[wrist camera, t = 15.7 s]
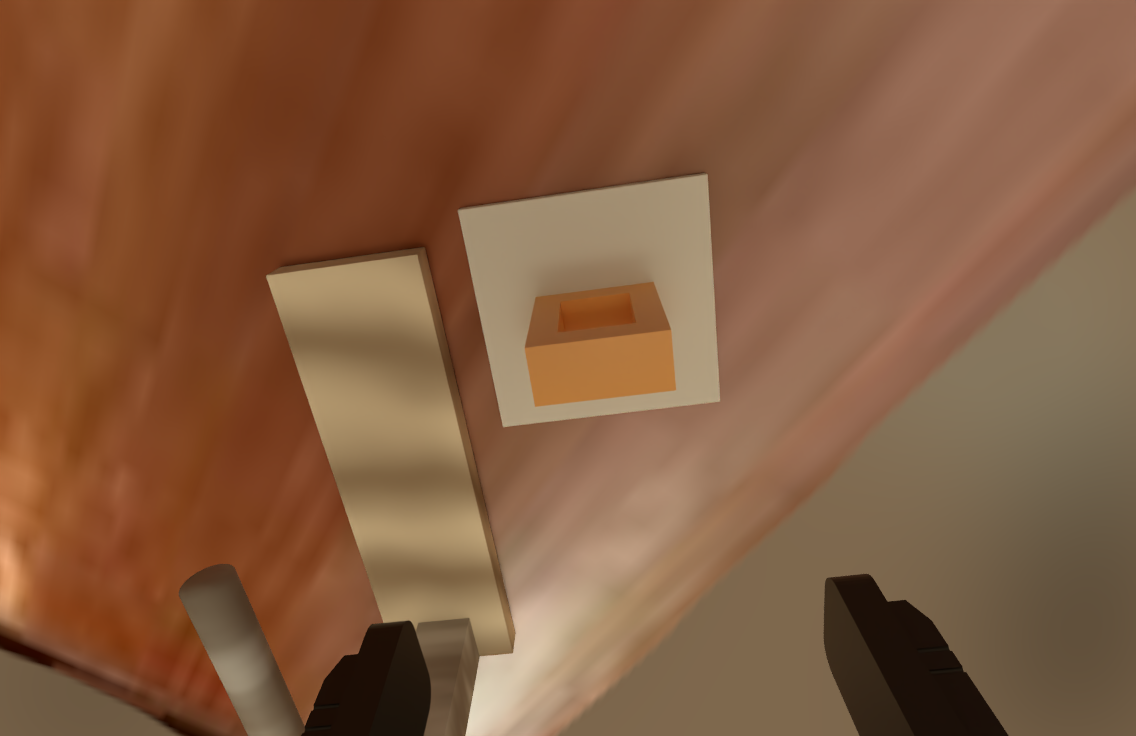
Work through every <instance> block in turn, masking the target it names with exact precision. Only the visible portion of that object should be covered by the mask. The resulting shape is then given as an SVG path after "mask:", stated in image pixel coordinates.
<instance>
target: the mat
mask: <svg viewBox="0 0 1136 736" xmlns="http://www.w3.org/2000/svg"><path fill="white" fill-rule="evenodd" d="M458 214H459V218H460V223H461V228H462V233H463V238H464V242H465V247H466V252H467V257H468V261H469V266H470V271H471V276H472V281H473V285H474V290H475V295H476V300H477V305H478V309H479V314H480V319H481V324H482V329H483V333H484V338H485V343H486V348H487V352H488V357H489V362H490V367H491V372H492V376H493V381H494V386H495V391H496V396H497V400H498V405H499V410H500V415H501V419H502V424H503V427H508V426H516V425H525V424H533V423H542V422H550V421H559V420H567V419H576V418H584V417H592V416H601V415H609V414H618V413H626V412H635V411H643V410H652V409H660V408H669V407H677V406H686V405H694V404H703V403H711V402H720V389H719V371H718V353H717V335H716V317H715V299H714V281H713V263H712V245H711V227H710V209H709V191H708V174H706V173H700V174H693V175H686V176H679V177H672V178H665V179H658V180H651V181H644V182H638V183H631V184H624V185H617V186H610V187H603V188H596V189H589V190H582V191H575V192H568V193H562V194H555V195H548V196H541V197H534V198H527V199H520V200H513V201H506V202H499V203H492V204H486V205H479V206H472V207H465V208H460V209H459V210H458ZM648 282H654V284H655V287H656V290H657V293H658V295H659V298H660V301H661V303H662V306H663V309H664V311H665V314H666V317H667V320H668V322H669V325H670V328H671V333H672V345H673V357H674V370H675V382H676V390H675V391H667V392H658V393H650V394H641V395H632V396H624V397H615V398H607V399H598V400H589V401H581V402H572V403H564V404H555V405H547V406H538V407H535V404H534V398H533V393H532V387H531V382H530V376H529V370H528V365H527V359H526V354H525V343H526V339H527V334H528V330H529V325H530V321H531V316H532V312H533V307H534V303H535V298H536V297H540V296H548V295H555V294H563V293H571V292H579V291H586V290H594V289H602V288H610V287H617V286H625V285H633V284H640V283H648Z"/></svg>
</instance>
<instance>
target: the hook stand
mask: <svg viewBox="0 0 1136 736" xmlns="http://www.w3.org/2000/svg"><path fill="white" fill-rule="evenodd" d="M266 277H267V280H268V283H269V286H270V289H271V292H272V295H273V298H274V301H275V304H276V307H277V310H278V313H279V316H280V319H281V322H282V325H283V328H284V330H285V333H286V336H287V339H288V342H289V345H290V348H291V351H292V354H293V357H294V360H295V363H296V366H297V369H298V372H299V375H300V378H301V381H302V383H303V386H304V389H305V392H306V395H307V398H308V401H309V404H310V407H311V410H312V413H313V416H314V419H315V422H316V425H317V428H318V431H319V434H320V437H321V439H322V442H323V445H324V448H325V451H326V454H327V457H328V460H329V463H330V466H331V469H332V472H333V475H334V478H335V481H336V484H337V487H338V490H339V492H340V495H341V498H342V501H343V504H344V507H345V510H346V513H347V516H348V519H349V522H350V525H351V528H352V531H353V534H354V537H355V540H356V543H357V546H358V548H359V551H360V554H361V557H362V560H363V563H364V566H365V569H366V572H367V575H368V578H369V581H370V584H371V587H372V590H373V593H374V596H375V599H376V601H377V604H378V607H379V610H380V613H381V616H382V619H383V622H384V623H388V622H398V621H407V620H409V621H411V622H412V624H413V626H414V628H415V631H416V634H417V638H418V641H419V644H420V647H421V650H422V653H423V656H424V660H425V663H426V666H427V669H428V672H429V676H430V682H431V704H430V710H429V715H428V719H427V723H426V728H425V732H424V736H465V734H466V729H467V723H468V718H469V712H470V707H471V701H472V696H473V690H474V685H475V679H476V673H477V668H478V662H479V657H480V656H487V655H498V654H509V653H513V648H514V640H515V630H514V626H513V621H512V617H511V613H510V609H509V604H508V600H507V596H506V591H505V587H504V583H503V579H502V574H501V570H500V566H499V562H498V557H497V553H496V549H495V545H494V540H493V536H492V532H491V527H490V523H489V519H488V515H487V510H486V506H485V502H484V498H483V493H482V489H481V485H480V481H479V476H478V472H477V468H476V463H475V459H474V455H473V451H472V446H471V442H470V438H469V434H468V429H467V425H466V421H465V416H464V412H463V408H462V404H461V399H460V395H459V391H458V387H457V382H456V378H455V374H454V370H453V365H452V361H451V357H450V352H449V348H448V344H447V340H446V335H445V331H444V327H443V323H442V318H441V314H440V310H439V305H438V301H437V297H436V293H435V288H434V284H433V280H432V276H431V271H430V267H429V263H428V259H427V254H426V250H425V247H420V248H413V249H406V250H399V251H392V252H385V253H378V254H370V255H363V256H356V257H349V258H342V259H335V260H328V261H321V262H314V263H306V264H299V265H292V266H285V267H280V268H278V269H276V270H275V271H273V272H271V273H270V274H268V275H266ZM179 596H180V599H181V601H182V603H183V605H184V607H185V609H186V611H187V613H188V615H189V617H190V619H191V621H192V623H193V625H194V627H195V629H196V631H197V633H198V635H199V637H200V639H201V641H202V643H203V645H204V647H205V649H206V651H207V653H208V655H209V657H210V659H211V661H212V663H213V665H214V667H215V669H216V671H217V673H218V675H219V677H220V679H221V681H222V683H223V685H224V687H225V689H226V691H227V693H228V696H229V698H230V700H231V702H232V704H233V706H234V708H235V710H236V712H237V714H238V716H239V718H240V720H241V722H242V724H243V726H244V728H245V730H246V732H247V734H248V736H301V735H302V733H304V732H305V726H304V724H303V722H302V719H301V717H300V715H299V713H298V710H297V708H296V706H295V704H294V701H293V699H292V697H291V695H290V692H289V690H288V688H287V685H286V683H285V681H284V679H283V676H282V674H281V672H280V670H279V667H278V665H277V663H276V661H275V658H274V656H273V654H272V651H271V649H270V647H269V645H268V642H267V640H266V638H265V636H264V633H263V631H262V629H261V627H260V624H259V622H258V620H257V618H256V615H255V613H254V611H253V608H252V606H251V604H250V602H249V599H248V597H247V595H246V593H245V590H244V588H243V586H242V584H241V581H240V579H239V577H238V574H237V572H236V570H235V568H234V567H233V566H232V565H229V564H218V565H214V566H210V567H208V568H205V569H203V570H201V571H199V572H197V573H196V574H194V575H193V576H191V577H190V578H189V579H188V580H187V581H186V582H185V583H184V584H183V585H182V586H181V588H180V590H179Z"/></svg>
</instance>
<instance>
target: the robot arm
mask: <svg viewBox="0 0 1136 736" xmlns="http://www.w3.org/2000/svg"><path fill="white" fill-rule="evenodd" d="M824 603H825V604H824V645H825V651H826V656H827V660H828V663H829V666H830V669H831V672H832V674H833V677H834V679H835V681H836V683H837V686H838V688H839V690H840V692H841V695H842V697H843V699H844V702H845V704H846V706H847V708H848V711H849V713H850V715H851V717H852V720H853V722H854V724H855V726H856V729H857V731H858V733H859V736H1008V734H1007V733H1006V731H1005V730H1004V728H1003V727H1002V725H1001V724H1000V722H999V721H998V719H997V718H996V716H995V715H994V713H993V712H992V710H991V709H990V707H989V706H988V704H987V703H986V701H985V700H984V698H983V697H982V695H981V694H980V692H979V691H978V689H977V688H976V686H975V685H974V683H973V682H972V680H971V679H970V677H969V676H968V674H967V673H966V672H963V668H962V665H961V664H960V663H959V661H958V660H957V658H956V656H955V655H954V653H953V652H952V651H950V650H949V647H948V644H947V643H946V642H945V640H944V639H943V637H942V636H941V634H940V633H939V631H938V629H937V628H936V626H935V625H934V624H933V622H932V621H931V620H930V619H929V618H928V617H926V616H925V615H924V614H923V613H921V612H920V611H919V610H917V609H916V608H915V607H913V606H912V605H911V604H910V603H908V602H907V601H906V600H900V601H891V602H887V600H886V599H885V597H884V595H883V594H882V592H881V591H880V589H879V587H878V586H877V584H876V582H875V581H874V579H873V578H872V577H871V576H870V575H869V574H860V575H850V576H841V577H831V578H827V579H826V582H825V602H824ZM430 704H431V682H430V676H429V672H428V669H427V666H426V663H425V660H424V656H423V653H422V650H421V647H420V644H419V641H418V638H417V634H416V631H415V628H414V626H413V624H412V622H411V621H409V620H407V621H398V622H388V623H379V624H372V625H371V626H370V627H369V628H368V630H367V632H366V635H365V637H364V640H363V643H362V645H361V648H360V651H359V653H358V654H355V655H345V656H344V657H343V658H342V659H341V660H340V661H339V663H338V664H337V665H336V666H335V667H334V669H333V670H332V671H331V672H330V673H329V675H328V676H327V677H326V678H325V679H324V682H323V684H322V687H321V689H320V691H319V694H318V696H317V699H316V701H315V703H314V710H313V711H311V713H310V715H309V718H308V720H307V723H306V725H305V732H304V733H302V735H301V736H424V732H425V728H426V723H427V719H428V715H429V710H430Z"/></svg>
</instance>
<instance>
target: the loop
mask: <svg viewBox="0 0 1136 736" xmlns="http://www.w3.org/2000/svg"><path fill="white" fill-rule="evenodd" d="M525 354H526V359H527V365H528V370H529V376H530V382H531V387H532V393H533V398H534V404H535V407H538V406H547V405H555V404H564V403H572V402H581V401H589V400H598V399H607V398H615V397H624V396H632V395H641V394H650V393H658V392H667V391H675V390H676V382H675V370H674V357H673V345H672V333H671V328H670V325H669V322H668V320H667V317H666V314H665V311H664V309H663V306H662V303H661V301H660V298H659V295H658V293H657V290H656V287H655V284H654V282H648V283H640V284H633V285H625V286H617V287H610V288H602V289H594V290H586V291H579V292H571V293H563V294H555V295H548V296H540V297H536V298H535V303H534V307H533V312H532V316H531V321H530V325H529V330H528V334H527V339H526V343H525Z"/></svg>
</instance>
